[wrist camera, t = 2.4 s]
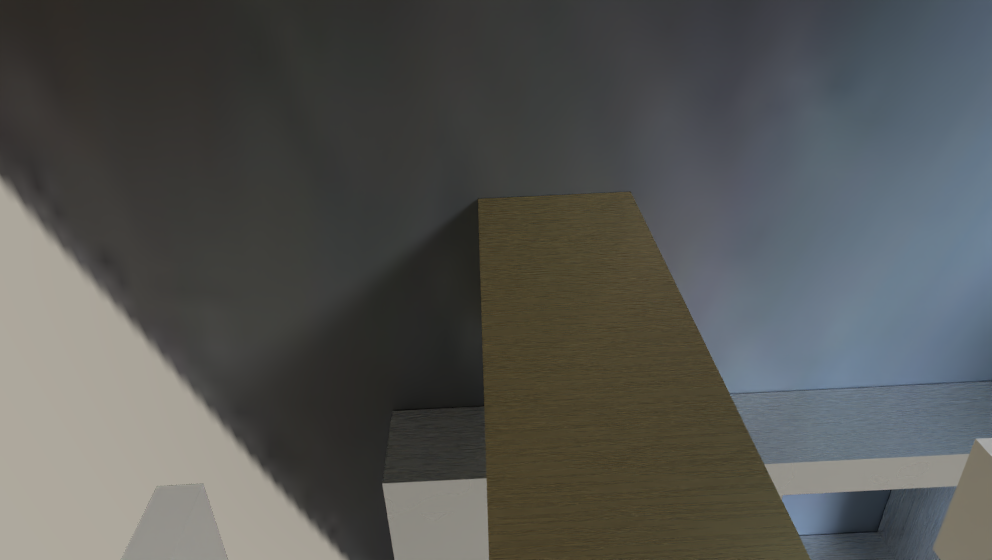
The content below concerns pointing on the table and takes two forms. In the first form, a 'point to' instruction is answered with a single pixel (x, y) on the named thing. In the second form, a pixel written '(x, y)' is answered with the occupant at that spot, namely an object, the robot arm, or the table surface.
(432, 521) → the white holed flat block
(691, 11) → the table surface
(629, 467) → the brass peg
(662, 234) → the table surface
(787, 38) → the table surface
